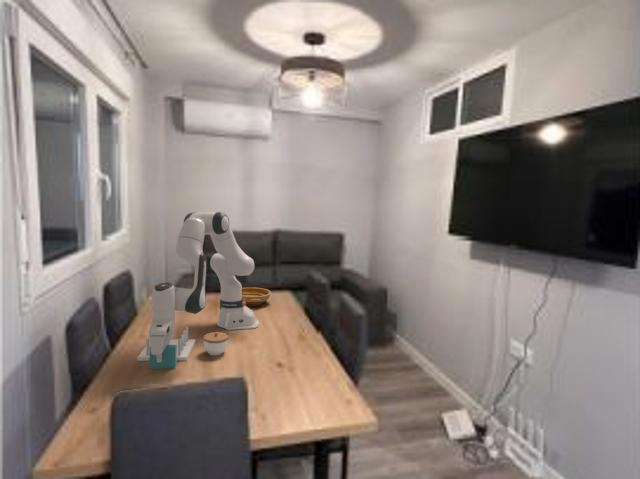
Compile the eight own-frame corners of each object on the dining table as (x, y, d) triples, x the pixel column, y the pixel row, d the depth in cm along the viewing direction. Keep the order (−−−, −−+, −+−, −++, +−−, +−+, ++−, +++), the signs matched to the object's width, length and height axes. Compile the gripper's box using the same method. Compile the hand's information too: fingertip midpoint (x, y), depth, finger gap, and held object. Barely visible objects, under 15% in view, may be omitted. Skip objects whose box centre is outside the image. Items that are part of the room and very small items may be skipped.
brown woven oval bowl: (231, 298, 263) (231, 286, 262) (266, 297, 270) (267, 285, 269) (235, 311, 235) (235, 298, 234) (274, 309, 242) (274, 297, 241)
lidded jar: (205, 359, 167) (206, 338, 166) (201, 349, 176) (201, 330, 175) (230, 355, 172) (231, 335, 171) (224, 346, 181) (225, 327, 180)
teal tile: (176, 365, 159) (176, 344, 158) (175, 368, 157) (175, 347, 156) (151, 365, 158) (151, 344, 157) (149, 368, 156) (149, 347, 155)
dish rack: (195, 342, 184) (195, 325, 183) (186, 360, 165) (186, 341, 164) (151, 342, 181) (151, 324, 180) (137, 360, 162) (137, 341, 161)
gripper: (162, 315, 165) (161, 346, 167) (147, 332, 145) (147, 367, 146) (177, 315, 166) (176, 346, 167) (164, 332, 146) (164, 367, 147)
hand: (162, 356), depth 157 cm, fingers open, 8 cm apart
